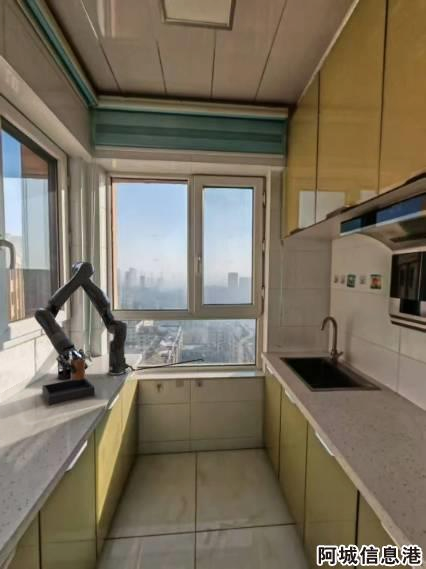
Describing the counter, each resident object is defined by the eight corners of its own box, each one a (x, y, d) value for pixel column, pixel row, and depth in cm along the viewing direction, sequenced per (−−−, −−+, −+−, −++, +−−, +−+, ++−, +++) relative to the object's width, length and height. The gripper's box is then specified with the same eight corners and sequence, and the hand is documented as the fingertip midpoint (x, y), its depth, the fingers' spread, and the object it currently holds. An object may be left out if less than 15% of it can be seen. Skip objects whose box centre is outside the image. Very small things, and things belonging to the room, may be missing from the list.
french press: (53, 380, 162) (54, 340, 162) (59, 375, 171) (59, 337, 171) (76, 379, 165) (76, 340, 164) (80, 374, 174) (80, 336, 173)
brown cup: (83, 375, 137) (83, 356, 137) (86, 378, 133) (86, 359, 132) (69, 377, 134) (69, 358, 133) (72, 381, 129) (73, 361, 129)
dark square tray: (84, 386, 155) (84, 377, 155) (94, 396, 142) (94, 386, 142) (42, 395, 142) (42, 385, 142) (48, 407, 129) (48, 396, 129)
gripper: (53, 340, 128) (73, 370, 125) (77, 335, 142) (96, 361, 138) (44, 351, 130) (64, 380, 127) (69, 344, 144) (87, 370, 140)
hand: (81, 370), depth 132 cm, fingers closed on brown cup, 6 cm apart
